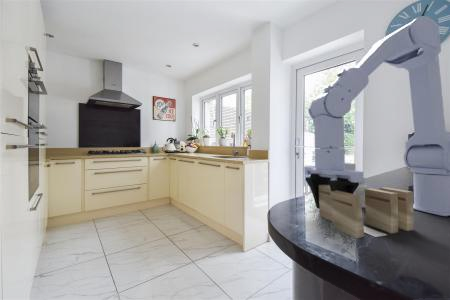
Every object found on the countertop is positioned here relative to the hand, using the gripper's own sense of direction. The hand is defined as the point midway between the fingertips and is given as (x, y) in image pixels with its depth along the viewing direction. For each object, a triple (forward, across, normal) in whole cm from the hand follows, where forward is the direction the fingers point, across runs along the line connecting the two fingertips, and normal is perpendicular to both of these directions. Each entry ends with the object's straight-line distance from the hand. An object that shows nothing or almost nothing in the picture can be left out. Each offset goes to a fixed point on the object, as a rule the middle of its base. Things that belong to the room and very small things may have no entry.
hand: (330, 211), depth 45 cm
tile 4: (+2, +7, -2) cm, 8 cm away
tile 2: (+2, +7, +5) cm, 9 cm away
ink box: (+2, -7, +8) cm, 11 cm away
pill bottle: (+2, -6, +14) cm, 16 cm away
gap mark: (+2, +7, +1) cm, 7 cm away
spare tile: (+2, 0, 0) cm, 2 cm away
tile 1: (+2, +7, +9) cm, 12 cm away
